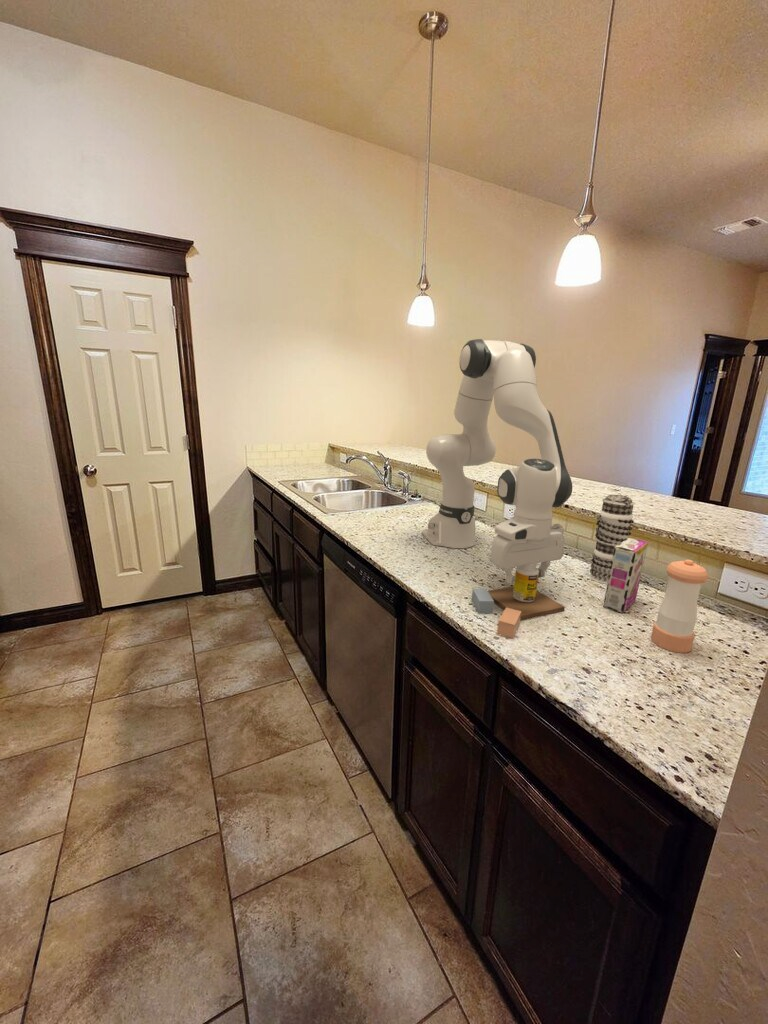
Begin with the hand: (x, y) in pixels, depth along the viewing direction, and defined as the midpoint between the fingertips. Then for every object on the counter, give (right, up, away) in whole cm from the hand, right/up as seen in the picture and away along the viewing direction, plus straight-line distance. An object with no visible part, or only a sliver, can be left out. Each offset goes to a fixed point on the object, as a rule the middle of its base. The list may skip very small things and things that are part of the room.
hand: (525, 579), depth 104 cm
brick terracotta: (-7, -10, -11) cm, 16 cm away
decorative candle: (+30, -3, +18) cm, 35 cm away
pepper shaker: (+26, -12, -15) cm, 32 cm away
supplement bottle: (0, -5, +2) cm, 6 cm away
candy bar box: (+25, -7, +3) cm, 27 cm away
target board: (0, -6, +2) cm, 7 cm away
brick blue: (-11, -7, -1) cm, 13 cm away
